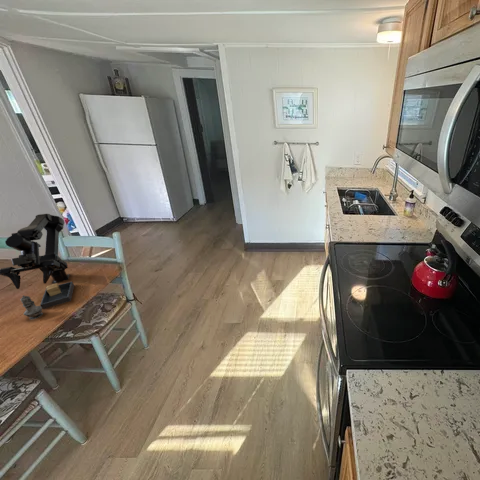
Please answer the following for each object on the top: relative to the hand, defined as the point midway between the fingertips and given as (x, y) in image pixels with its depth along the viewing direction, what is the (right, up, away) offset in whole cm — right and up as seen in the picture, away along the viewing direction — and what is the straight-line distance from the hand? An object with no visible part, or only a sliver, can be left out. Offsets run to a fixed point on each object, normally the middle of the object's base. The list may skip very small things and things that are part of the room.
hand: (31, 286), depth 120 cm
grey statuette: (+3, -14, -1) cm, 14 cm away
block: (-2, -6, +13) cm, 14 cm away
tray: (+2, -7, +11) cm, 13 cm away
